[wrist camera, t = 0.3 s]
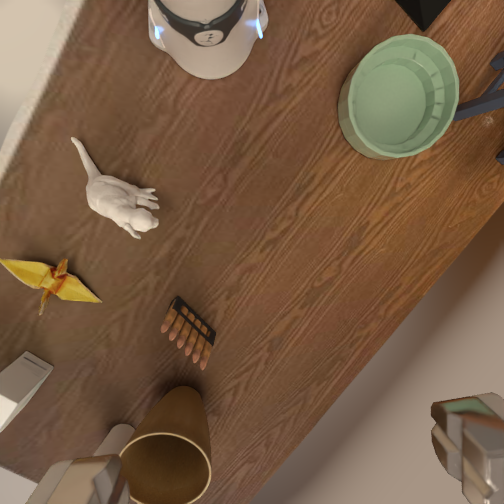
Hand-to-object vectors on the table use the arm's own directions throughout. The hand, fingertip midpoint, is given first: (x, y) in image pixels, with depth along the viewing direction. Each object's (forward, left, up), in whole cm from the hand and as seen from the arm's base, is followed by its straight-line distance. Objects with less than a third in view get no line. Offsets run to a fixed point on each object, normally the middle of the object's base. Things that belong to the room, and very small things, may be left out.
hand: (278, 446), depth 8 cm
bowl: (-16, +27, -47) cm, 57 cm away
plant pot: (+35, -19, -48) cm, 62 cm away
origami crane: (+5, -36, -48) cm, 60 cm away
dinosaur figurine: (-9, -21, -48) cm, 53 cm away
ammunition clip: (+17, -13, -48) cm, 52 cm away
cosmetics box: (+24, -48, -48) cm, 72 cm away
